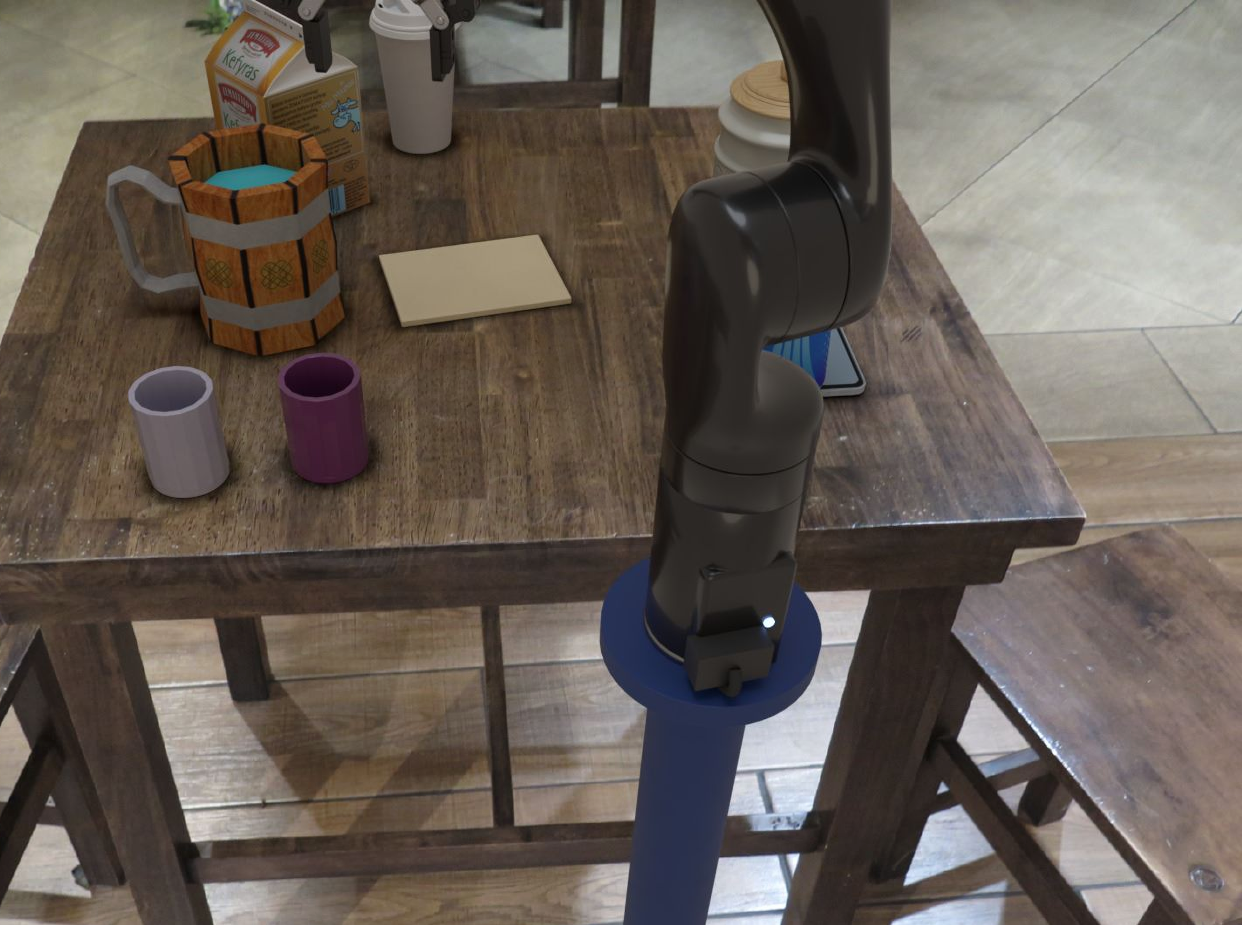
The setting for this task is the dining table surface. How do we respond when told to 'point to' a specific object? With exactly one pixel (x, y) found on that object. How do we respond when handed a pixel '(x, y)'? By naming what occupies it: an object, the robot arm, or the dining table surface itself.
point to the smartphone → (842, 368)
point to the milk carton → (291, 95)
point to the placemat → (472, 280)
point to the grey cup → (179, 431)
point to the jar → (754, 121)
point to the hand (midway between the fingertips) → (382, 73)
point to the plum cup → (324, 417)
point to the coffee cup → (412, 78)
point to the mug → (248, 236)
